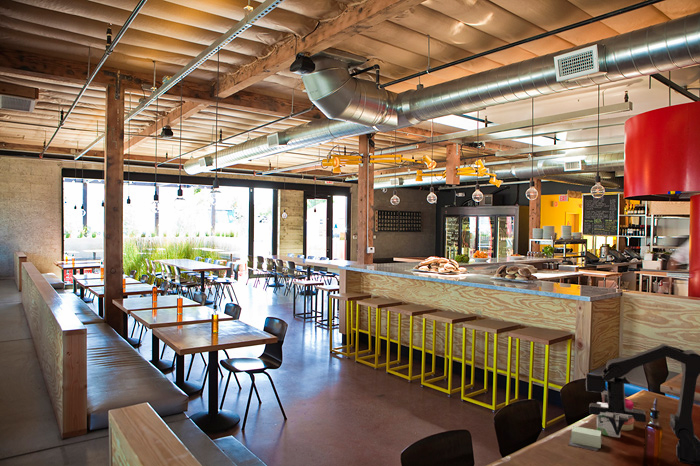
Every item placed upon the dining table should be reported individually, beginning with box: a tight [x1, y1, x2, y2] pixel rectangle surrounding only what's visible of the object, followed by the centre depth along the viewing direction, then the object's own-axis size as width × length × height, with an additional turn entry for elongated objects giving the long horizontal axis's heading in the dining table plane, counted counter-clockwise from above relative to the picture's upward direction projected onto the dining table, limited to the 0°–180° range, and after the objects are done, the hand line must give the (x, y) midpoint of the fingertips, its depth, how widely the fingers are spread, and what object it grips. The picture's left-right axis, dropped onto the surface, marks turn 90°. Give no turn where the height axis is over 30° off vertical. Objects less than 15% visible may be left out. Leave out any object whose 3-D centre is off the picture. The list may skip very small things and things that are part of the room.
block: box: [571, 425, 602, 449], centre depth 181 cm, size 4×6×10 cm
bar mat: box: [568, 434, 599, 452], centre depth 181 cm, size 10×11×1 cm
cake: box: [607, 397, 635, 431], centre depth 198 cm, size 10×11×15 cm
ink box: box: [596, 401, 621, 438], centre depth 190 cm, size 9×5×12 cm, turn 61°
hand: (617, 434), depth 175 cm, fingers closed
